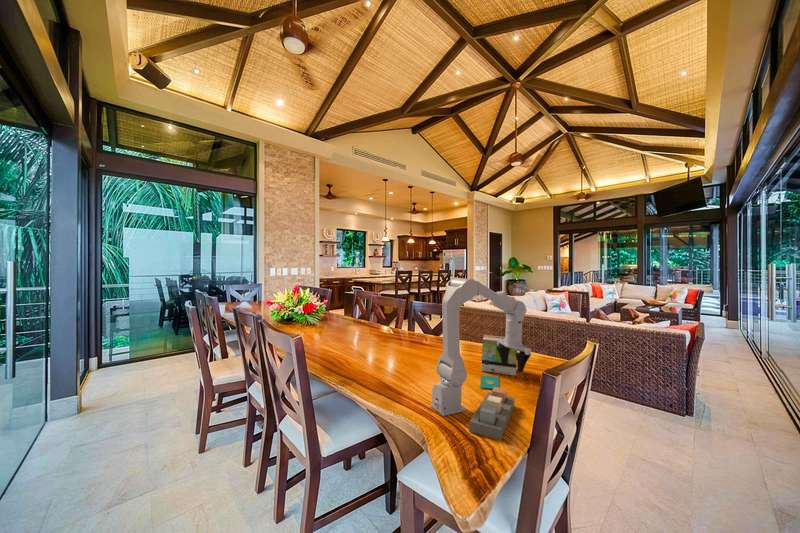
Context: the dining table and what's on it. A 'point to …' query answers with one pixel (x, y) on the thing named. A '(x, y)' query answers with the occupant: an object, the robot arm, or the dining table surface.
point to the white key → (495, 403)
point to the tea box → (496, 357)
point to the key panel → (501, 422)
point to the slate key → (488, 415)
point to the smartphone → (489, 382)
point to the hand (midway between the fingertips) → (512, 368)
